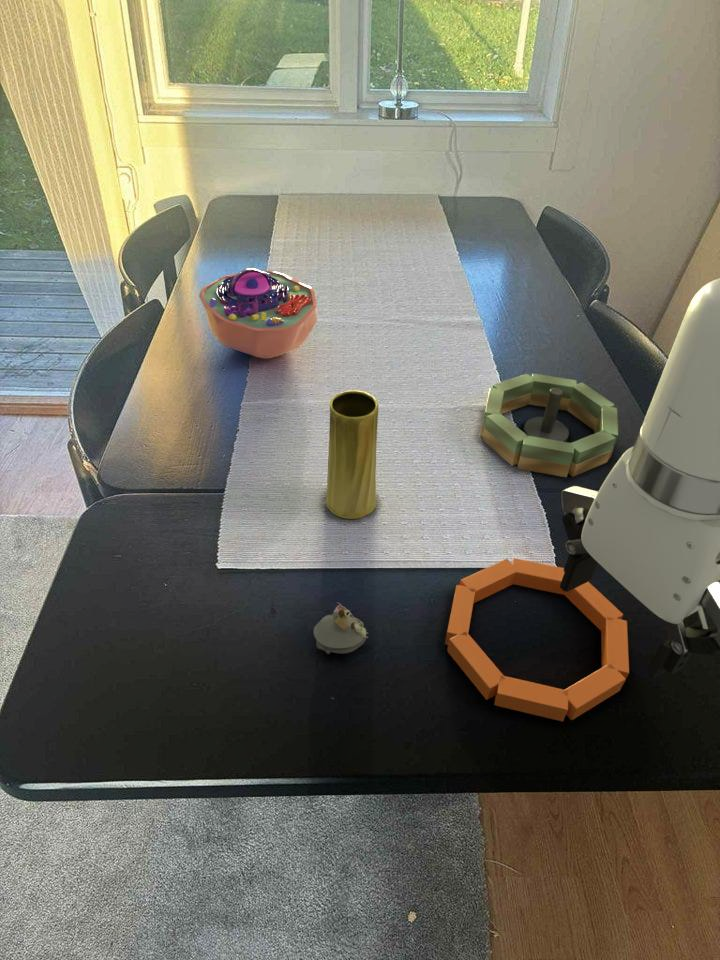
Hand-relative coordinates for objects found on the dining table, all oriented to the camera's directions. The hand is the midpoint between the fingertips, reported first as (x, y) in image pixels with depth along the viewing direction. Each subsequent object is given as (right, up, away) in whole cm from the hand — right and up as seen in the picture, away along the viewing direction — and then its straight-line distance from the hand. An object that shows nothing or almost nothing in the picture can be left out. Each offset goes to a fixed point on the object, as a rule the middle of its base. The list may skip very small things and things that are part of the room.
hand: (616, 624), depth 58 cm
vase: (-22, +9, +26) cm, 35 cm away
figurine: (-23, -4, +11) cm, 26 cm away
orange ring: (-4, -4, +12) cm, 13 cm away
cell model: (-36, +33, +53) cm, 72 cm away
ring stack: (+4, +18, +37) cm, 42 cm away
